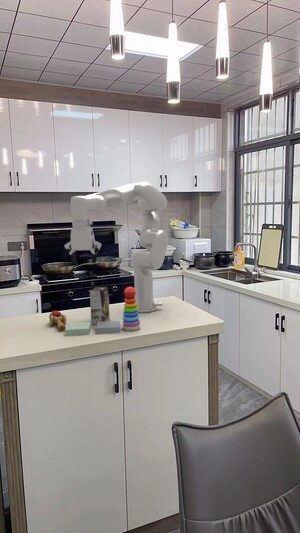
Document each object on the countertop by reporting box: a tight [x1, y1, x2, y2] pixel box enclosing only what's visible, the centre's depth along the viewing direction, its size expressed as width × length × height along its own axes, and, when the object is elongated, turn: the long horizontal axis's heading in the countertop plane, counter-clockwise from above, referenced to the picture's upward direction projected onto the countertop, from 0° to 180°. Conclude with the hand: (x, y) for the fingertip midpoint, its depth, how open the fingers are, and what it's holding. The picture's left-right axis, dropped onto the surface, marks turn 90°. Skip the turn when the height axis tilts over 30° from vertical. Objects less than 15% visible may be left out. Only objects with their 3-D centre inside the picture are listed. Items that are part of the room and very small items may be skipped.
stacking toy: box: [122, 286, 141, 332], centre depth 164 cm, size 8×8×19 cm
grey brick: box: [95, 320, 121, 335], centre depth 164 cm, size 10×10×3 cm
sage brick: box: [64, 321, 92, 337], centre depth 163 cm, size 10×10×3 cm
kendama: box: [48, 310, 67, 332], centre depth 172 cm, size 8×6×18 cm
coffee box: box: [89, 286, 111, 326], centre depth 176 cm, size 9×6×16 cm
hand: (84, 263), depth 168 cm, fingers open, 9 cm apart
